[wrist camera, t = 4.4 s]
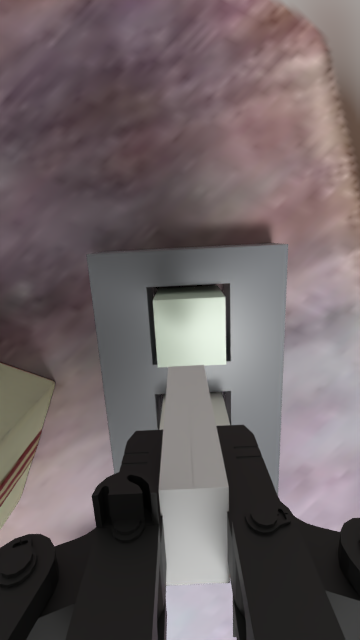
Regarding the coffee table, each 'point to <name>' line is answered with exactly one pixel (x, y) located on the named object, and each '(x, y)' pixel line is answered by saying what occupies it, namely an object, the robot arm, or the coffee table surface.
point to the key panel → (234, 378)
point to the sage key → (190, 326)
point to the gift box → (19, 430)
